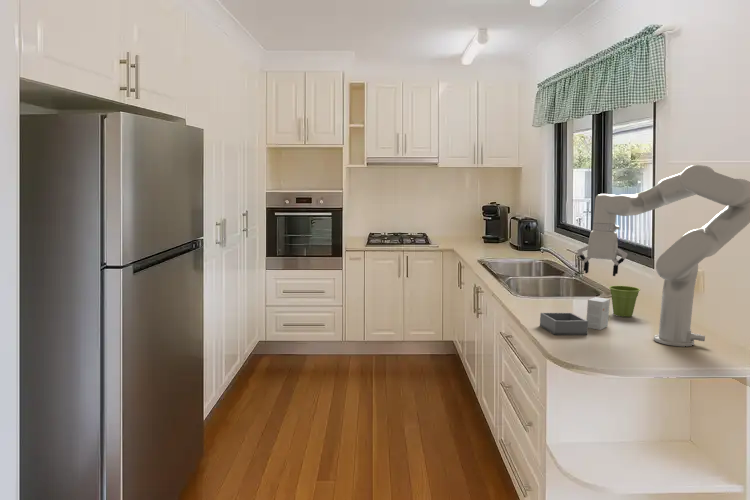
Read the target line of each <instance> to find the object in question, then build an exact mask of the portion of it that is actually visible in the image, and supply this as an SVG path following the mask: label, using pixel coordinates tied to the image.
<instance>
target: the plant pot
mask: <svg viewBox="0 0 750 500" xmlns="http://www.w3.org/2000/svg"><path fill="white" fill-rule="evenodd" d="M608 288H609V290H610V296H611V305H612V312H613V315H615V316H616V315H617V316H616V317H620V316H622V317H623V318H624V317H627V318H630V317H633V315H634V311H635V306H636V301H637V298H638V296H639V292H640V291H641V289H640V288H639V287H636V286H629V285H627V286H626V285H611V286H608Z"/></svg>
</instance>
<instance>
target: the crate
mask: <svg viewBox="0 0 750 500" xmlns="http://www.w3.org/2000/svg"><path fill="white" fill-rule="evenodd" d="M539 327H541V328H542V329H544V330H546V331H547V332H549V333H550V332H551V334H552V335H553V336H588V329H589V328H588V321H587V319H585V318H583V317H581V316H579V315H576V314H574V313H573V312H540V318H539Z"/></svg>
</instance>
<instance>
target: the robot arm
mask: <svg viewBox="0 0 750 500" xmlns="http://www.w3.org/2000/svg"><path fill="white" fill-rule="evenodd" d="M696 195H697V196H699V197H702V198H705V199H707V200H710V201H712V202H715V203H717V204H720V205H723V206H725V207H724V209H722V210H721V211H720V212H718V213H717V214H716V215H715V216H714V217H713V218H712V219H710V220H709V221H708V222H707V223H706V224H704V225H703V226H702V227H700V228H696V229H695V228H694V229H692V230H689V231H688V232H686V233H685V234H683V235H682V236H681V237H680V238H678V239H677V240H676V241H675V242H674V243H673V244H671V245H670V247H668V248H667V249H666V250H665V251H664V252H663V253H662V254H661V255H660V256H659V257H658V258H657V260H656V263H655V270H656V274H657V275H658V276H659V277H660V278H662V279H663V280H664V281H663V285H662V295H661V304H660V306H661V307H660V313H659V314H660V316H659V329H658V334H655V335H653V339H652V340H654V342H657V343H659V344H662V345H668V346H673V347H685V346H686V347H693V346H694V345H695V341H699V342H700V341H701V342H705V341H706V340H705V339H706V335H703V334H701V333H700V334H699V333H694V332H692V328H691V327H692V326H691V325H692V315H693V305H694V295H695V286H696V281H697V277H698V272H699V263H701V262H702V261H703V260H704V259H706V258H709V257H712V256H714V255H716V254H717V253H718V252H719V251H720V250H721V249H722V248H723V247H724V246H726V244H728V243H729V242H730V241H731V240H733V239H734V238H735V236H737V235H738V234H739V233H740V232H742V230H744V229H745V228H746V227H747V226H748V225H749V224H750V181H749V180H746V179H745V178H744V179H742V178H733V177H732V176H731V177H730V176H727V175H724V174H721V173H719V172H716V171H715V170H714V168H711V167H710V166H708V165H699V164H694V165H690V166H687V167H686V168H684V170H682V172H680V173H677V174H674V175H670V176H669V177H665V178H663V179H661V180H659V181H658V183H657V184H656V185H654V186H652V187H651V188H648V189H646V190H644V191H640V192H638V193H634V194H619V195H616V194H611V193H610V194H608V193H600V194H597V195H596V196H595V201H594V215H593V226H592V230H591V231H590V234H589V237H588V244H587V245H586V246H584V247H581V248H579V249H577V254H578V256H579V258H580V259H581V260H582V262H583V271H584V274H588V273H589V270H590V269H589V267H590V262H589V260H590V259H599V260H611V261H612V262H613V263H614V265H613V269H612V277H616V275H617V274H618V273H619V265H621V264H622V263H623V262H624V261H625V260H626V258H627V257H628V253H627V252H626V251H623V250H622V249H620V248H618V247H619V245H618V243H619V242H618V239H619V238H618V232H616V231H617V230H620V225H617V224H616V222H617V221H616V220H617V216H619V217H620V216H621V217H629V216H638V215H641V214H645V213H647V212H651V211H654V210H656V209H659V208H661V207H664V206H668V205H670V204H672V203H675V202H679V201H681V200H683V199H687V198H690V197H694V196H696ZM585 251H587V252H586V255H587V256H586V257H585V255H584V254H583V252H585ZM618 254H619V255H621V258H619V259H617V257H618ZM692 345H693V346H692Z"/></svg>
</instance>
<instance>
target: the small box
mask: <svg viewBox="0 0 750 500" xmlns="http://www.w3.org/2000/svg"><path fill="white" fill-rule="evenodd" d="M610 300H611V299H610V298H603V297H599V296H595V297H592V298H590V299H588V300H587V306H586V307H587V309H586V310H587V311H586V320H587V321H588V328H587V329H593V330H597V331H598V330H599V331H601V330H603V329H606V328H607V327H608V325H609V317H610V315H609V313H610V303H611V302H610Z"/></svg>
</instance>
